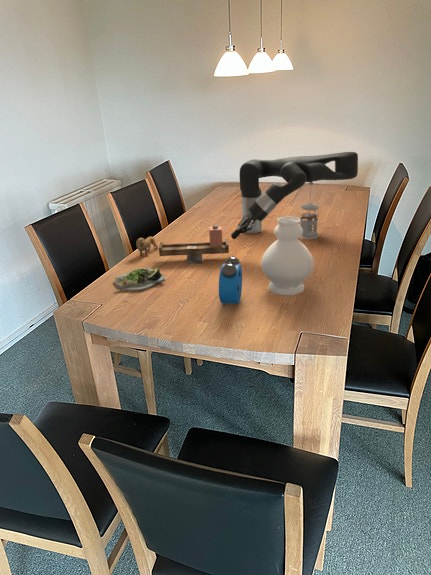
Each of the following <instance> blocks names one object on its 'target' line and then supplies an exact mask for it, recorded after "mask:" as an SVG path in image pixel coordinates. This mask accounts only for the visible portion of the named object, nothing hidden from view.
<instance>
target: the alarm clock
mask: <svg viewBox="0 0 431 575" xmlns="http://www.w3.org/2000/svg"><path fill="white" fill-rule="evenodd" d="M242 290H243V269H242V265H241V261H240V259H239V258H238V257H236V256H233V255H232V256H229V257H227V258H226V259H225V261H224V263H222V265H221V267H220V270H219V274H218V299H219V302H220V304H222V307H225V304H229V305H239V304H240V301H241V298H242Z"/></svg>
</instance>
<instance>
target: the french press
mask: <svg viewBox="0 0 431 575" xmlns="http://www.w3.org/2000/svg"><path fill="white" fill-rule="evenodd" d="M308 185H309V186H313V185H314V181H313V182H308ZM311 192H312V189H310V192H309V200H312V199H311V195H312V193H311ZM300 208H301V209H302V210H305V211H308V213H307V212H306V213H302V214H301V215H300V216H301V217H300V218H299V219H300V223H299V226H300V227H301V228H302V230H303V233H302V235H301V236H300V238H301V239H302V238H303V239H305V240H315V239H317V237H318V238H319V234H318V219H319V217H318V216H319V208H320V206H319V205H318V204H317V203H315V202H314V203H311V202H307V203H303V204H302V205H301V206H300ZM311 211H312V212H314V213H310V212H311ZM316 211H317V214H316ZM300 238H299V239H300ZM314 238H315V239H314Z"/></svg>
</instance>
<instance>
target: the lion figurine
mask: <svg viewBox="0 0 431 575" xmlns="http://www.w3.org/2000/svg"><path fill="white" fill-rule="evenodd" d="M135 244H136V249H137V250H138V252H139V257H143V252H145V254H144V255H145V258H147V257H149V253H148V252H150V250H151V248H152V246H151V245H153V247H154V248H155V250H156V251H159V246H158V244H157V243H156V239H155V237H153V236H148V237H147V238H143V237H139V238H137V240H136V243H135Z"/></svg>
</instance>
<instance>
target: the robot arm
mask: <svg viewBox="0 0 431 575" xmlns="http://www.w3.org/2000/svg"><path fill="white" fill-rule="evenodd" d="M332 162H334V170H332V169H331V168H330V167H329V166H327V165H326V164H329V163H332ZM358 171H359V154H358V153H357V152H355V151H343V152H336V153H335V152H334V153H328V154H321V155H305V156H304V155H300V156H291V157H290V156H288V157H283V158H277V159H250V160H247V161H245V162H244V163H243V164H242V165H241V166H240V169H239V189H240V192H241V220H240V221H239V222H238V224H237V227H236V229H235V230H234V231H233V232H232V233H231V234H230V237H231V238H232V239H233V240H236V239H237V238H238V237H239V236H240V235H241V234H257V233H262V227H263V224H262V223H263V221H264V220H265V218H267V216H268V215H269V214H271V213H272V211H274V210H275V208H276V207H277V205H279V204H280V203H281V202H282V201H283V200H284V199H285V198H286V197H287V196H289V195H290V194H292V193H293V192H296V191H297V190H299V189H300V188H302V187H303V186H304V185H305V184H306V183H309V182H313V183H314V182H317V181H318V182H319V181H346V180H352V179H355V178H357V176H358V174H359V172H358ZM268 177H269V178H270V177H279V178H282V179H283V180H284V181H285V182H286V184H283V185H282V184H279V182H273V183H272V184H271V185H270V186H269V187H268V188H267V189H266V190H265V191H264V192H263V193H262V189H261V188H260V181H259V180H260V179H262V178H268Z"/></svg>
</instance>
